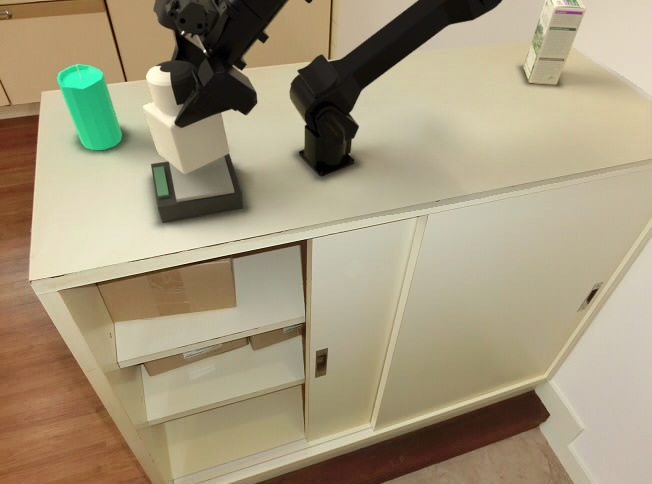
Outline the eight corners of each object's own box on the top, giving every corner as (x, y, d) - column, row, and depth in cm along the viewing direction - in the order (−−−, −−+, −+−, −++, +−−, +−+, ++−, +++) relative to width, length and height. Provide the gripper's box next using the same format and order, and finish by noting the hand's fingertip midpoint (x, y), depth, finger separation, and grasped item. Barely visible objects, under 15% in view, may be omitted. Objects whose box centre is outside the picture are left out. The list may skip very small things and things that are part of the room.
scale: (161, 222, 71) (156, 203, 68) (154, 179, 76) (149, 160, 74) (243, 208, 74) (241, 190, 71) (230, 167, 79) (228, 148, 76)
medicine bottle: (202, 133, 74) (181, 49, 66) (230, 153, 71) (212, 67, 62) (157, 153, 71) (128, 67, 63) (184, 176, 68) (158, 88, 59)
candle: (78, 130, 82) (51, 57, 73) (119, 124, 84) (96, 51, 75) (83, 153, 79) (54, 80, 70) (125, 146, 81) (102, 73, 71)
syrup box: (557, 85, 101) (589, 8, 90) (527, 83, 101) (555, 5, 89) (550, 69, 104) (580, -7, 93) (521, 67, 104) (547, -9, 93)
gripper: (172, -77, 59) (98, 33, 64) (214, -7, 48) (121, 118, 54) (246, -11, 67) (176, 82, 73) (296, 61, 57) (209, 164, 62)
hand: (170, 107), depth 65 cm, fingers closed on medicine bottle, 7 cm apart
